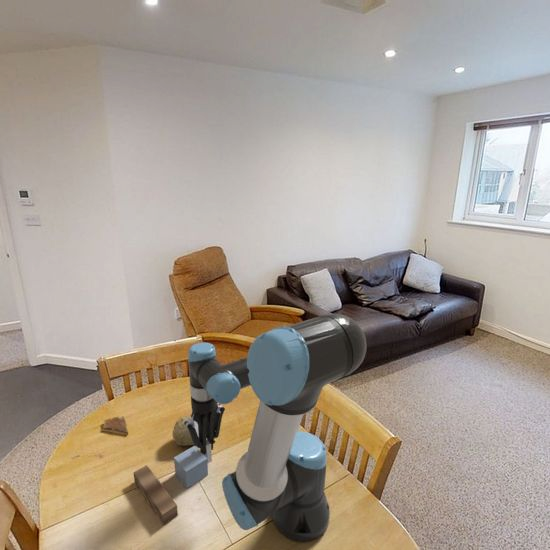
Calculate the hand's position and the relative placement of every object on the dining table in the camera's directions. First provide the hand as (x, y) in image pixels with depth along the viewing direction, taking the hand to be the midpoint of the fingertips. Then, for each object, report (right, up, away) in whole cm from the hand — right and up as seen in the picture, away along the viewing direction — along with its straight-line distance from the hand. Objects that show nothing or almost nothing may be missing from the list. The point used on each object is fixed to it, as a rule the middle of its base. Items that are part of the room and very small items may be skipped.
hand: (207, 459), depth 110 cm
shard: (-34, +3, +17) cm, 38 cm away
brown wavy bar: (-12, -5, -11) cm, 17 cm away
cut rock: (-8, +1, +10) cm, 13 cm away
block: (-4, -3, -3) cm, 6 cm away
